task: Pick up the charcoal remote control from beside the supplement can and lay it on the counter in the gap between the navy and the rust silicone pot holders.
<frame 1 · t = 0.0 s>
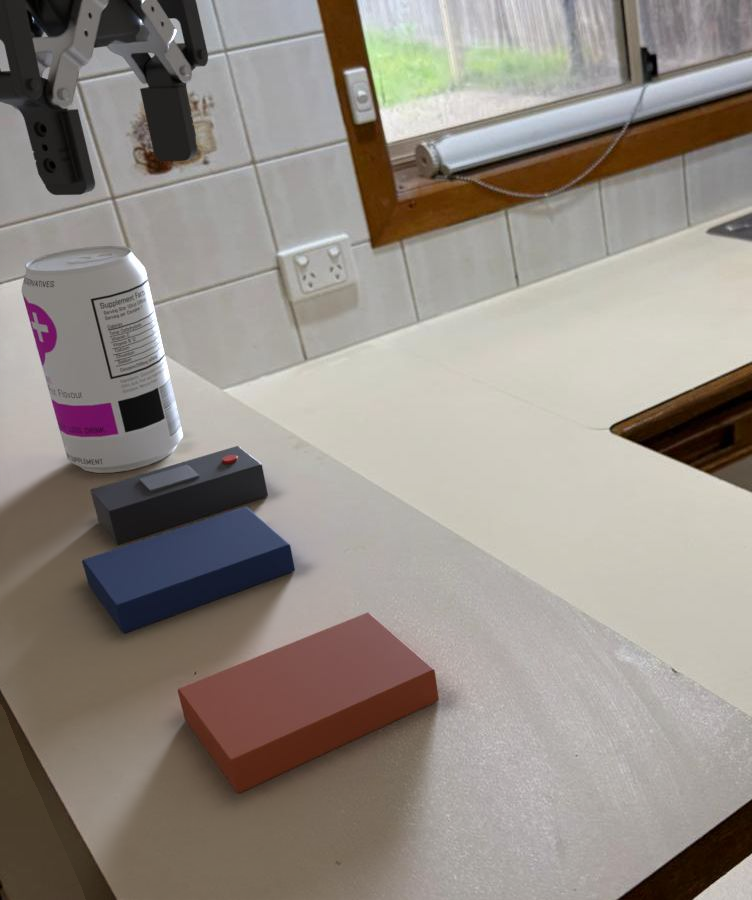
hand: (128, 175, 57), 24 cm above the worktop, tool pointing down, fingers open, 8 cm apart
remote: (184, 509, 76), on the worktop
navy pot holder: (192, 578, 67), on the worktop
rust pot holder: (312, 710, 54), on the worktop
supplement can: (128, 456, 86), on the worktop
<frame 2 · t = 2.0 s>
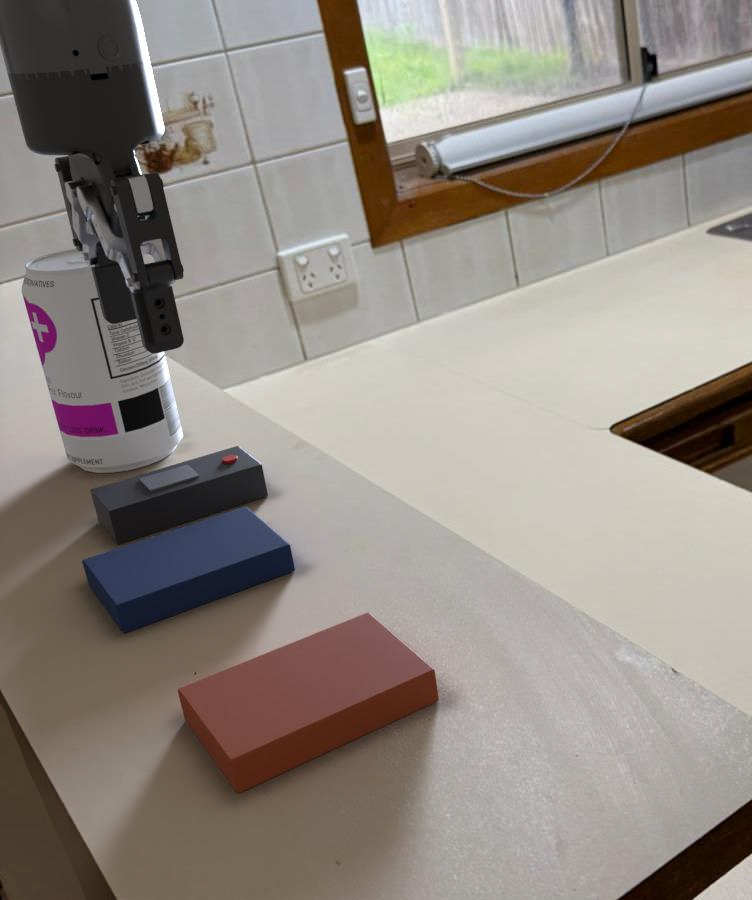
hand: (143, 334, 71), 12 cm above the worktop, tool pointing down, fingers open, 8 cm apart
nothing on the worktop moved.
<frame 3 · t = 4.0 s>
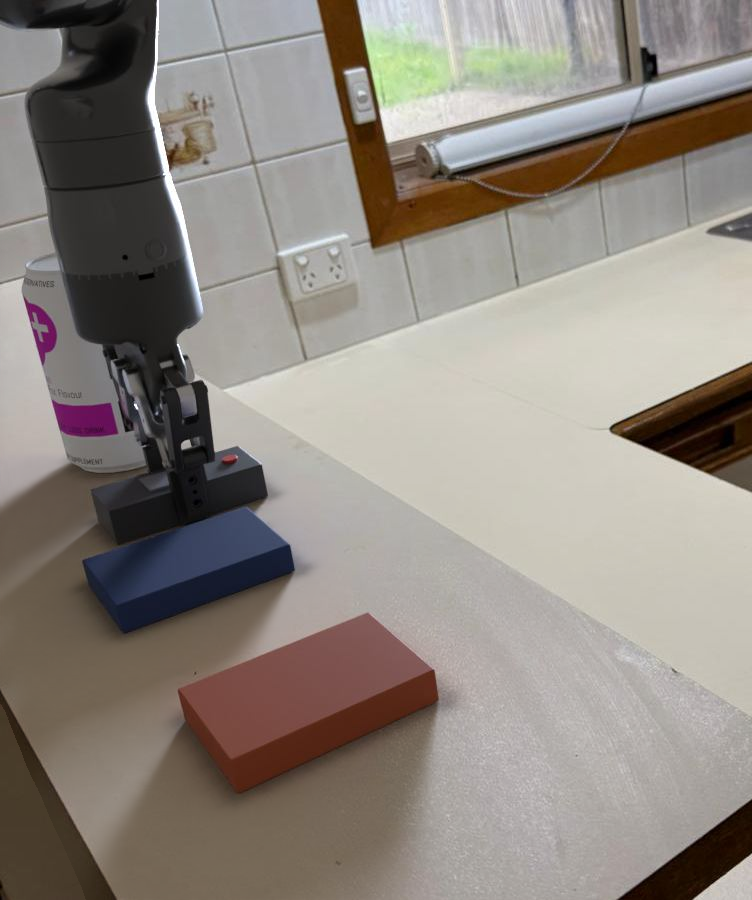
hand: (183, 504, 76), 0 cm above the worktop, tool pointing down, fingers closed on remote, 4 cm apart
remote: (184, 508, 76), on the worktop, touching gripper
everything else where it was.
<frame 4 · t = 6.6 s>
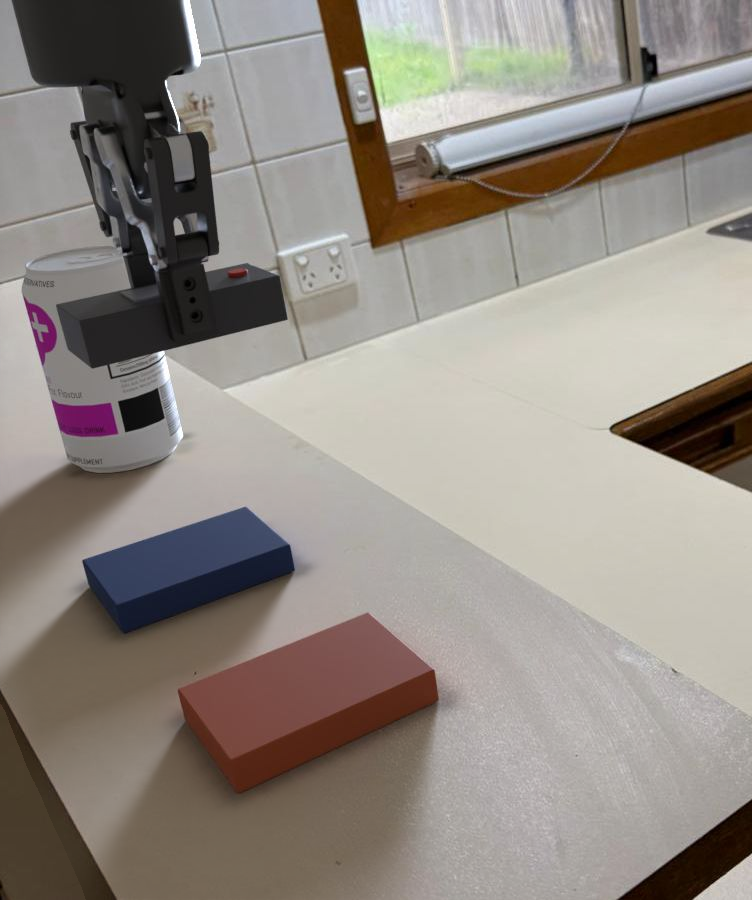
hand: (178, 329, 58), 16 cm above the worktop, tool pointing down, fingers closed on remote, 4 cm apart
remote: (180, 334, 59), point 16 cm above the worktop, touching gripper
everything else where it was.
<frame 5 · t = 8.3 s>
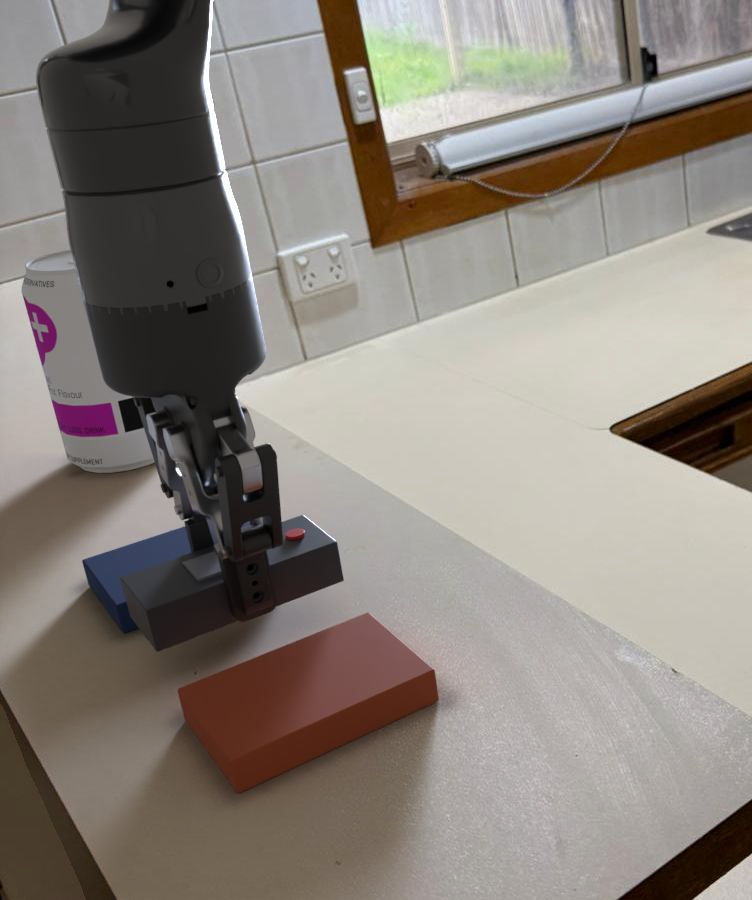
hand: (237, 594, 60), 3 cm above the worktop, tool pointing down, fingers closed on remote, 4 cm apart
remote: (239, 598, 60), point 2 cm above the worktop, touching gripper
everything else where it was.
when the fingers open (0 cm above the worktop, at t = 9.4 s): remote stays where it is, on the worktop.
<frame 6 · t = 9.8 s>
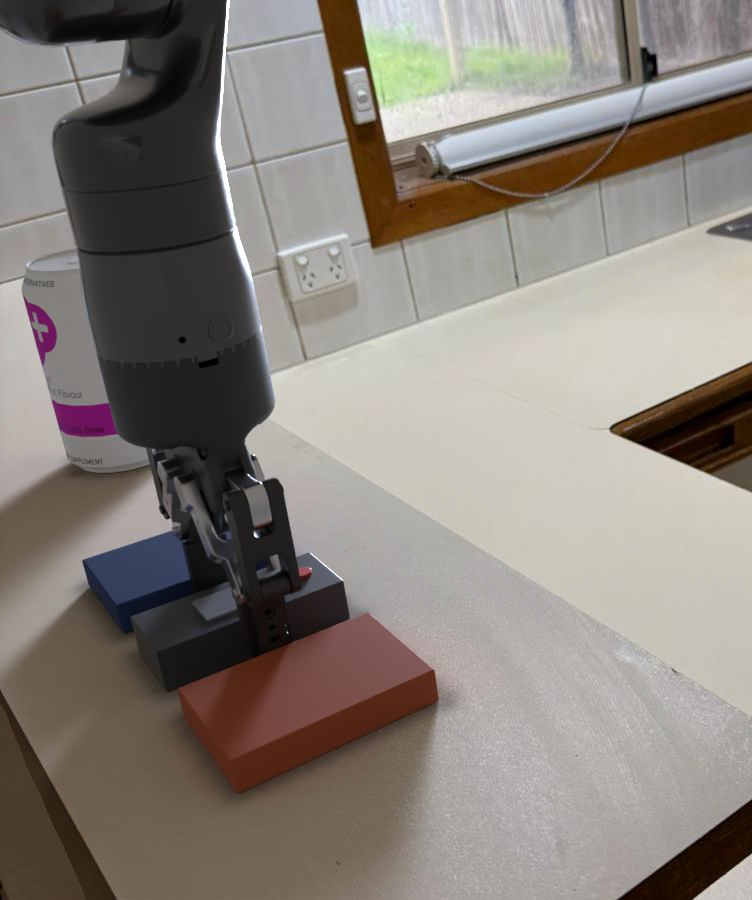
hand: (243, 625, 60), 1 cm above the worktop, tool pointing down, fingers open, 7 cm apart
remote: (247, 636, 61), on the worktop
everything else where it was.
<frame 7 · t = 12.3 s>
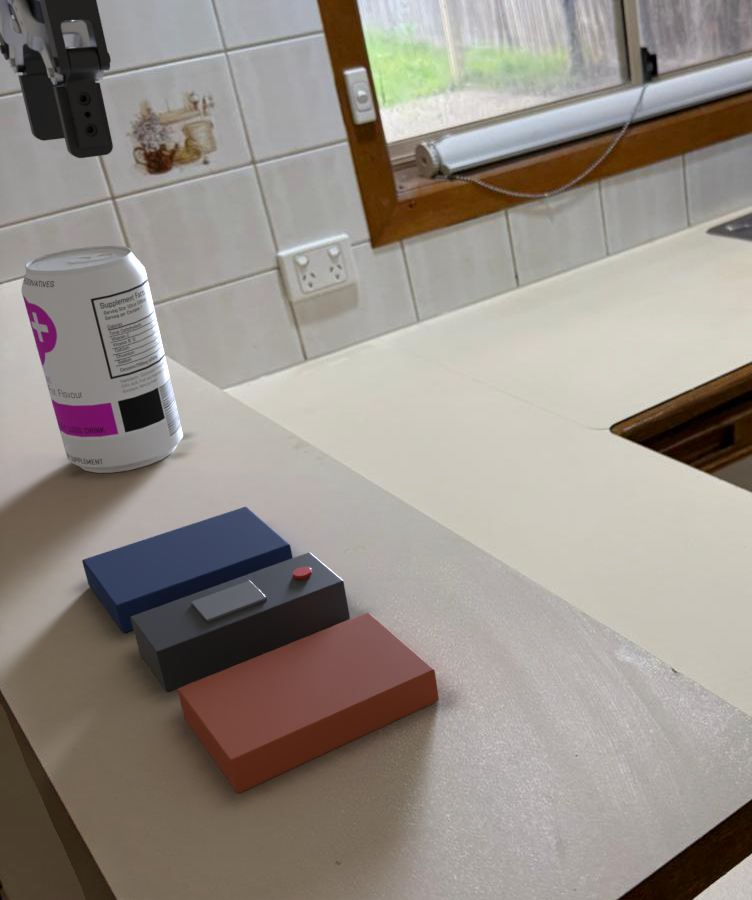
hand: (72, 146, 65), 24 cm above the worktop, tool pointing down, fingers open, 8 cm apart
nothing on the worktop moved.
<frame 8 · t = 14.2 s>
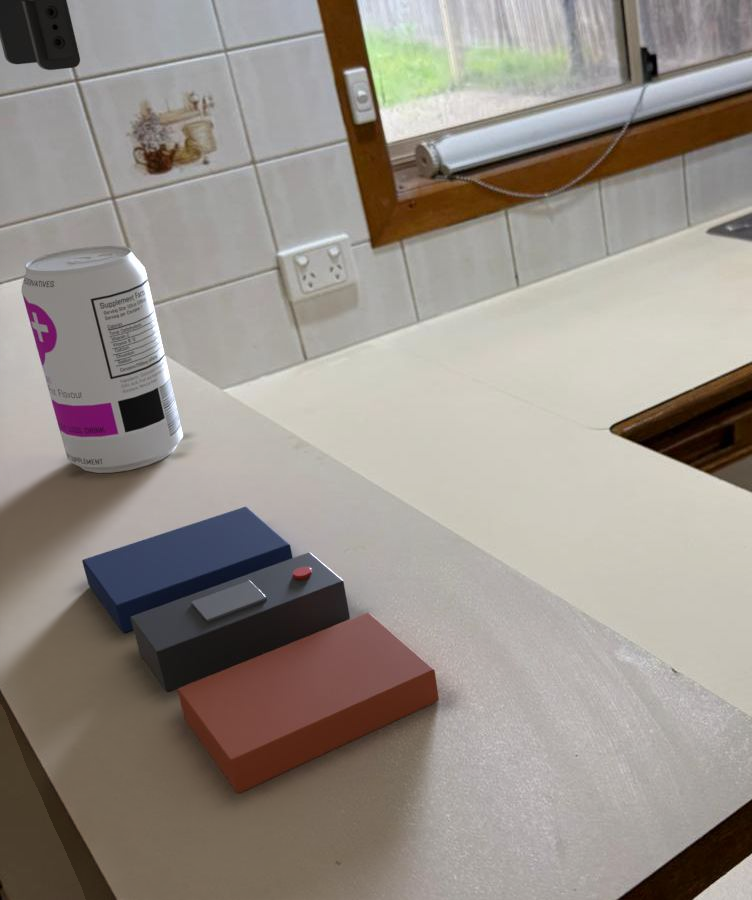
hand: (43, 65, 69), 28 cm above the worktop, tool pointing down, fingers open, 8 cm apart
nothing on the worktop moved.
at the end: remote 0.1 cm from the target spot on the worktop beside the rust pot holder, on the worktop; remote 8.5 cm from the navy pot holder (horizontally); remote tilted 0° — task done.
